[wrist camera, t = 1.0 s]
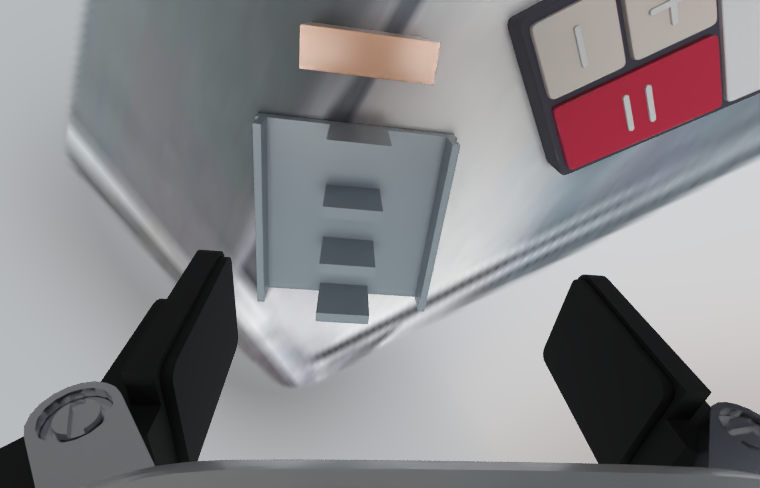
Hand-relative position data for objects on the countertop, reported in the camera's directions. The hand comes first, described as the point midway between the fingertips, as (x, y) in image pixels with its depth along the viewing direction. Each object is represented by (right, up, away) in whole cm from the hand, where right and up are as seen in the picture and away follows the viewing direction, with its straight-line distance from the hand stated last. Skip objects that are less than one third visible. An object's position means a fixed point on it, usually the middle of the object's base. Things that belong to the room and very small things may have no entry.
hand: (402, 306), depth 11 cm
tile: (-2, +15, +16) cm, 21 cm away
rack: (-3, +4, +21) cm, 22 cm away
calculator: (+17, +15, +17) cm, 28 cm away
